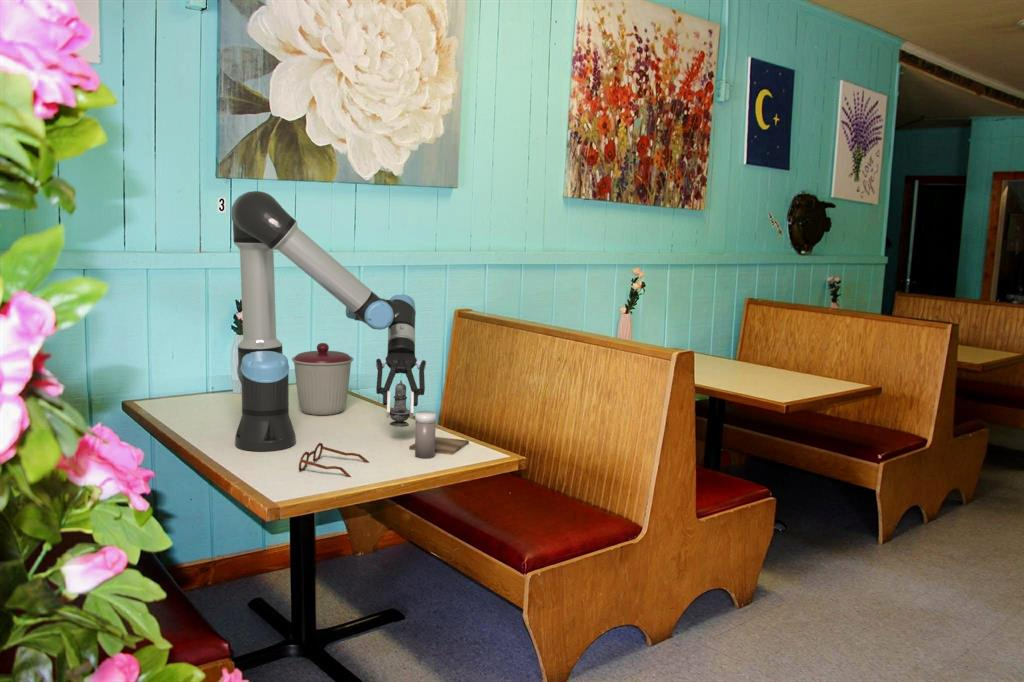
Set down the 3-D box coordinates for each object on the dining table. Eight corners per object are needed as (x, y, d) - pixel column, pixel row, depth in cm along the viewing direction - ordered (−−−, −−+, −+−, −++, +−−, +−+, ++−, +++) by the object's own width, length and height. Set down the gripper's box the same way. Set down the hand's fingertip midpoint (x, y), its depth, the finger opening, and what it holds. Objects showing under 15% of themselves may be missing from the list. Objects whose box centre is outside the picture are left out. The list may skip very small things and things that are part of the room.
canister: (358, 406, 278) (358, 339, 275) (346, 419, 260) (346, 348, 257) (300, 404, 278) (300, 337, 275) (284, 417, 260) (284, 346, 257)
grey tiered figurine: (399, 420, 240) (401, 377, 238) (415, 425, 236) (416, 380, 235) (383, 424, 235) (385, 379, 234) (398, 428, 232) (400, 383, 230)
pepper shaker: (430, 459, 221) (431, 416, 219) (411, 457, 222) (412, 414, 221) (438, 454, 226) (439, 412, 224) (419, 452, 227) (420, 410, 226)
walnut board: (452, 454, 226) (452, 451, 226) (409, 449, 230) (409, 446, 229) (468, 443, 238) (468, 440, 237) (427, 438, 241) (427, 435, 241)
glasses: (319, 460, 219) (319, 440, 218) (369, 464, 217) (370, 444, 216) (297, 475, 206) (297, 454, 206) (350, 479, 204) (350, 458, 203)
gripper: (367, 334, 241) (364, 406, 227) (435, 336, 244) (436, 408, 230) (367, 350, 247) (364, 422, 233) (433, 353, 250) (434, 423, 236)
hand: (400, 415), depth 232 cm, fingers closed on grey tiered figurine, 5 cm apart
